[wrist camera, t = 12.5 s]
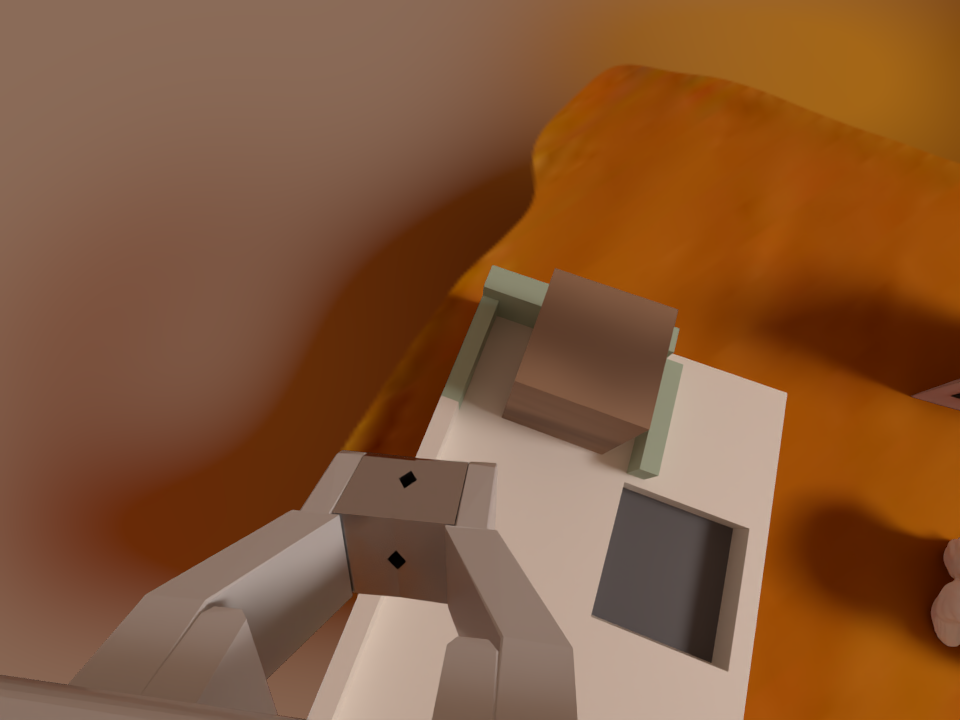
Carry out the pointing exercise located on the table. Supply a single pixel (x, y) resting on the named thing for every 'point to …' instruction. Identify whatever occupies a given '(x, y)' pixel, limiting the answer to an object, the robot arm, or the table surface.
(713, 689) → the box
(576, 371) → the walnut block
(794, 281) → the table surface
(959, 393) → the greeting card
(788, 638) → the table surface
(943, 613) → the white animal figurine
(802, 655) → the table surface
